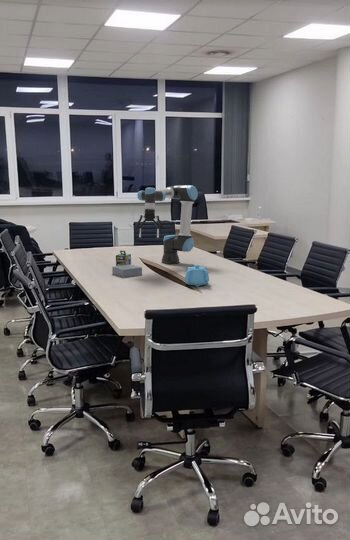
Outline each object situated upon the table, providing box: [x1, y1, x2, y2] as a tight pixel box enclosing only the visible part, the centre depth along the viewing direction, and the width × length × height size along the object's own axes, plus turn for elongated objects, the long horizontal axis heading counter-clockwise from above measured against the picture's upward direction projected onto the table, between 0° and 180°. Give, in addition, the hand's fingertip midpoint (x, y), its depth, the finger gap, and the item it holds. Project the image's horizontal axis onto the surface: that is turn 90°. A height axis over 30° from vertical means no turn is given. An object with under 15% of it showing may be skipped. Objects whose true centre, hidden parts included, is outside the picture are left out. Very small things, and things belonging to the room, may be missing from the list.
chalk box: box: [115, 249, 132, 266], centre depth 386 cm, size 9×9×15 cm
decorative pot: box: [184, 264, 210, 288], centre depth 330 cm, size 16×16×14 cm
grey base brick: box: [111, 263, 143, 278], centre depth 365 cm, size 16×16×6 cm
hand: (148, 237), depth 367 cm, fingers open, 13 cm apart
